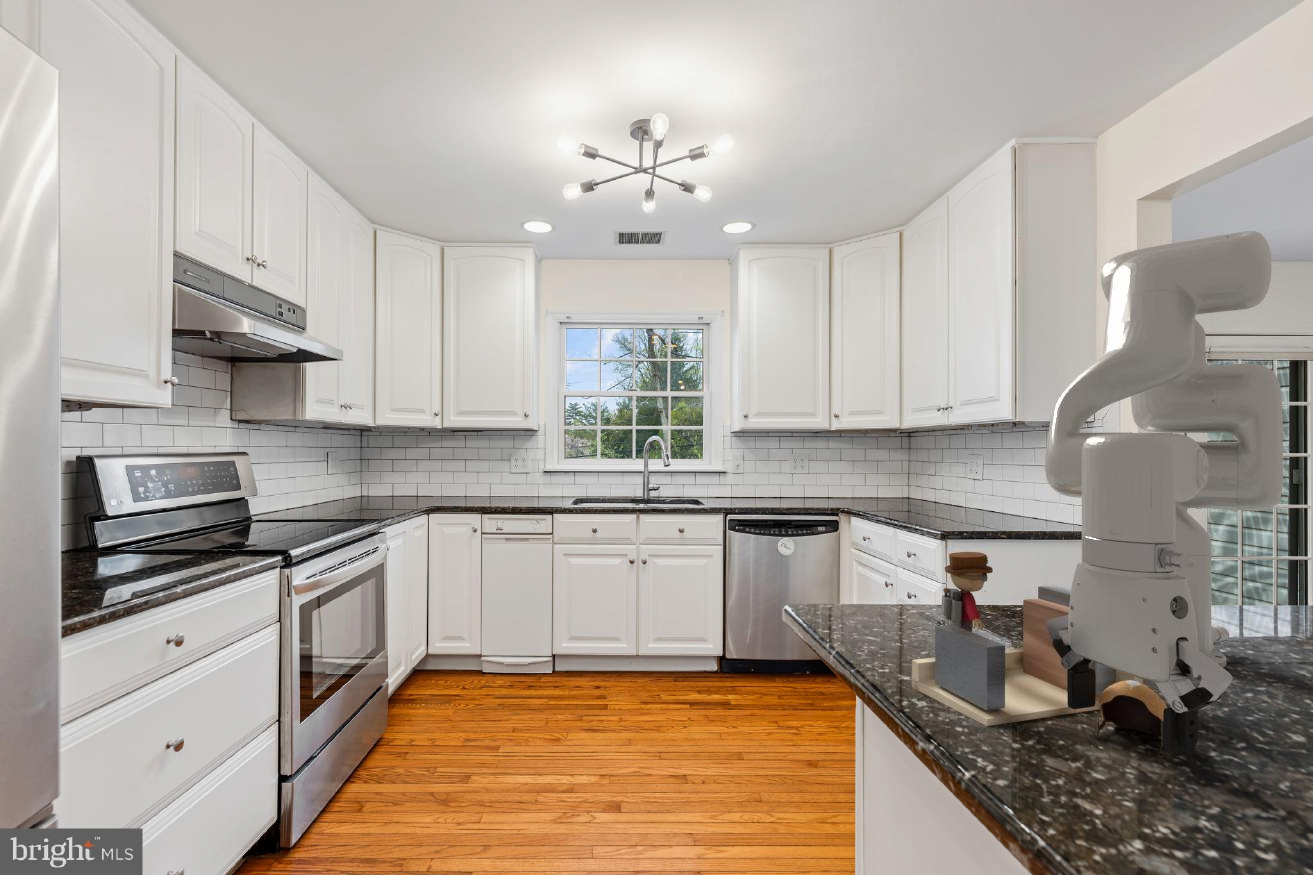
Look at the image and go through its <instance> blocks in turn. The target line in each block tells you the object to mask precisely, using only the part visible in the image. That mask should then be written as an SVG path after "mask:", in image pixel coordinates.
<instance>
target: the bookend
mask: <svg viewBox="0 0 1313 875" xmlns="http://www.w3.org/2000/svg"><path fill="white" fill-rule="evenodd" d="M934 627H935V631H934V632H935V633H934V635H935V636H934V637H935V639H934V640H935V641H934V643H935V644H934V645H935V647H934V648H935V650H934V651H935V652H934V653H935V654H934V657H935V683H936V684H938V685H940V686H942V687H944V688H945V689H947V690H949V691H951V692H953V693H955V694H957V695H959V696H960V697H962V698H964V699H966V700H968V701H970V702H972V703H974V704H975V705H977V706H979V707H981V708H983V709H985V710H987V711H988V710H995V709H1002V708H1005V649H1006V645H1005V644H1003V643H1000V642H998V641H996V640H992V639H990V638H987V637H985V636H982V635H979V634H977V633H975V632H973V631H972V632H970V631H967V630H965V629H962V628H959V627H957V626H954V625H951V624H946V625H936V626H934Z"/></svg>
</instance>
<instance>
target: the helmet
mask: <svg viewBox="0 0 1313 875" xmlns="http://www.w3.org/2000/svg"><path fill="white" fill-rule="evenodd" d="M1099 706H1100V709H1099V713H1098V717H1100V715H1101V717H1102V722H1101V724H1100V719H1098V722H1097V733H1096V740H1098V739H1099V735H1100V734H1099V733H1100V731H1102V729H1103V728H1104V727H1105V725H1106V724H1107V723H1111V724H1112V725H1113V726H1115V727H1117V728H1119V729H1130V730H1134V731H1135V730H1136V731H1138V732H1143V733H1146V734H1149V735H1151V736H1153V737H1155V738H1158V739H1161V742H1160V748H1163V711H1164V709H1165V708H1168V707H1167V704H1166V703H1165V702H1164V700H1163V699H1162V698H1161V697H1160V696H1159V695H1158V694H1157V693H1156V692H1155V691H1154V690H1152V689H1151V688H1150V687H1148V686H1147V685H1145V684H1144V683H1143V684H1141V683H1139V682H1136V681H1132V680H1127V681H1121V682H1117V683H1115V684H1113V685H1111V686H1109V687H1108V688H1107V689H1105V690H1104V692H1103V693H1102V695H1101V698H1100V700H1099ZM1161 750H1162V749H1160V750H1159V754H1158V756H1159V755H1161V752H1162V751H1161Z"/></svg>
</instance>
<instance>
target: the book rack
mask: <svg viewBox="0 0 1313 875" xmlns="http://www.w3.org/2000/svg"><path fill="white" fill-rule="evenodd" d="M1071 589H1072V588H1069V587H1065V586H1060V585H1057V584H1054V585H1041V586H1038V587H1037V596H1038V597H1037V598H1028V599H1027V598H1025V599H1023V600H1022V602H1023V603H1022V605H1023V607H1022V608H1023V610H1022V614H1023V615H1022V616H1023V617H1022V619H1023V620H1022V621H1023V622H1022V623H1023V625H1022V626H1023V627H1022V633H1023V634H1022V635H1023V638H1022V639H1023V640H1022V641H1023V642H1022V643H1023V645H1022V647H1017V648H1016V647H1015V648H1014V647H1013V648H1005V708H1002V709H995V710H988V711H987V710H985V709H983V708H981V707H979V706H977V705H975V704H974V703H972V702H970V701H968V700H966V699H964V698H962V697H960V696H959V695H957V694H955V693H953V692H951V691H949V690H947V689H945V688H944V687H942V686H940V685H938V684H936V683H935V656H934V657H927V658H919V659H917V658H916V659H912V660H911V688H913V689H914V690H916V691H919V692H920V693H922V694H924V695H926V696H927V697H930V698H932V699H934V700H936V701H938V702H940V703H942V704H943V705H945V706H947V707H949V708H952V710H953V709H954V710H955V711H956V712H959V713H961V714H963V715H964V716H966V717H968V718H970V719H972V720H974V721H976V722H978V723H980V724H982V725H984V726H986V727H990V726H995V725H996V726H997V725H1002V724H1003V725H1005V724H1009V723H1018V722H1023V721H1024V722H1025V721H1029V720H1030V721H1031V720H1037V719H1042V718H1050V717H1058V716H1063V715H1070V714H1076V713H1082V712H1089V711H1097V710H1100V706H1099V700H1100V698H1101V695H1102V693H1103V692H1104V690H1105V689H1107V688H1108V687H1109V686H1111V685H1113V684H1115V683H1117V682H1121V681H1127V680H1132V681H1136V682H1139V683H1141V684H1143V685H1144V679H1141V678H1138V677H1135V676H1132V675H1129V674H1127V673H1124V672H1121V671H1118V670H1115V669H1113V668H1110V667H1107V666H1104V665H1102V664H1099V663H1096V662H1093V663H1092V664H1091V665H1090V666H1089V668H1092V669H1095V674H1096V704H1095V706H1094V707H1088V708H1081V709H1072V708H1070V707H1068V704H1067V695H1068V693H1067V669H1065V668H1064V667H1063V666H1062V664H1061V657H1060V656H1059V654H1058V653H1057V651H1056V650H1055V648H1054V647H1053V639H1052V638H1051V636H1050V633H1049V631H1048V629H1047V626H1046V621H1047V620H1050V619H1054V618H1057V617H1061V616H1064V615H1068V614H1069V604H1070V595H1071ZM1067 633H1068V629H1067ZM1068 638H1069V635H1068Z"/></svg>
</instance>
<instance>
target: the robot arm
mask: <svg viewBox="0 0 1313 875" xmlns="http://www.w3.org/2000/svg"><path fill="white" fill-rule="evenodd" d="M1272 268H1273V267H1272V252H1271V248H1270V245H1269V242H1268V240H1267V239H1266V237H1265V236H1264V235H1263V234H1262V233H1260V232H1258V231H1255V230H1246V231H1239V232H1232V233H1227V234H1221V235H1214V236H1209V237H1202V238H1198V239H1192V240H1191V239H1190V240H1187V241H1186V240H1184V241H1178V242H1172V243H1167V244H1161V245H1156V246H1155V245H1154V246H1149V247H1145V248H1139V249H1136V250H1132V251H1127V252H1124V253H1122V254H1118V255H1116V256H1114V257H1112V258H1110V259H1109V260H1108V261H1106V262H1104V265H1103V267H1102V268H1101V272H1100V284H1101V287H1102V288H1101V289H1102V291H1103V295H1104V297H1105V299H1106V301H1107V313H1106V322H1105V331H1104V339H1103V340H1104V341H1103V351H1102V356H1101V357H1100V358H1099V359H1098V360H1097V361H1095V362H1094V363H1092V364H1091V365H1090V366H1088V367H1087V368H1086V369H1084V370H1083V371H1082V372H1081V373H1080V374H1079V375H1078V376H1076V377H1075V379H1073V380H1072V382H1070V384H1069V385H1068V386H1067V387H1066V389H1064V390H1063V392H1062V394H1061V395H1060V396H1059V398H1058V399H1057V400H1056V403H1055V405H1054V407H1053V410H1052V413H1051V416H1050V422H1049V429H1048V434H1047V440H1046V447H1045V456H1044V471H1045V477H1046V480H1047V482H1048V484H1049V486H1050V487H1051V488H1052V489H1053V490H1054V491H1055V492H1056V493H1058V494H1060V495H1062V496H1065V497H1071V498H1080V499H1081V562H1077V563H1076V568H1075V570H1074V574H1073V579H1072V582H1071V588H1070V589H1071V595H1070V604H1069V614H1068V615H1064V616H1061V617H1057V618H1054V619H1050V620H1047V621H1046V626H1047V629H1048V631H1049V633H1050V636H1051V638H1052V639H1053V647H1054V648H1055V650H1056V651H1057V653H1058V654H1059V656H1060V657H1061V664H1062V666H1063V667H1064V668H1065V669H1067V693H1068V695H1067V704H1068V707H1070V708H1072V709H1081V708H1088V707H1094V706H1095V704H1096V674H1095V669H1092V668H1089V666H1090V665H1091V664H1092V663H1093V662H1096V663H1099V664H1102V665H1104V666H1107V667H1110V668H1113V669H1115V670H1118V671H1121V672H1124V673H1127V674H1129V675H1132V676H1135V677H1138V678H1141V679H1143V681H1144V680H1145V681H1147V682H1151V683H1155V684H1156V686H1157V687H1158V689H1159V691H1160V692H1161V694H1162V696H1163V697H1164V698H1165V700H1166V701H1167V703H1168V705H1169V706H1170V707H1167V708H1165V709H1164V711H1163V745H1162V748H1163V749H1164V751H1166V752H1167V753H1169V754H1172V755H1176V754H1180V753H1185V752H1186V753H1187V752H1191V751H1192V752H1193V751H1194V750H1195V748H1196V747H1197V746H1196V745H1197V744H1198V742H1199V740H1198V739H1199V721H1198V720H1199V718H1198V717H1199V710H1205V709H1206V707H1208V706H1209V705H1211V704H1214V703H1215V702H1217V701H1219V700H1220V699H1221V697H1222V696H1221V695H1222V694H1223V693H1224V692H1225V691H1226V690H1227V689H1228V687H1229V686H1230V684H1231V683H1232V682H1233V676H1232V674H1231V672H1229V671H1227V670H1226V669H1225V667H1226V666H1227V657H1226V656H1225V654H1223V653H1222V652H1221V651H1219V650H1217V649H1214V643H1215V642H1218V641H1219V642H1220V641H1225V640H1228V639H1229V638H1230V632H1229V630H1228V629H1226V628H1225V627H1223V626H1215V627H1214V626H1212V554H1213V553H1212V541H1211V538H1210V536H1209V534H1208V532H1207V530H1206V529H1205V528H1204V527H1203V526H1202V525H1201V523H1199V522H1198V521H1197V520H1196V519H1195V518H1193V516H1192V515H1191V514H1189V512H1188V511H1187V510H1188V509H1212V510H1213V509H1214V510H1226V511H1227V510H1230V511H1253V512H1254V511H1255V512H1256V511H1257V512H1258V511H1259V512H1260V511H1265V510H1269V509H1271V508H1274V507H1275V506H1276V505H1277V504H1278V503H1279V501H1280V499H1281V497H1282V494H1283V484H1284V447H1283V446H1284V443H1283V442H1284V440H1283V439H1284V436H1283V435H1284V434H1283V427H1284V426H1283V424H1284V423H1283V398H1282V397H1283V396H1282V389H1281V384H1280V381H1279V379H1278V377H1277V374H1275V371H1273V370H1272V369H1271V368H1269V367H1268V366H1265V365H1262V364H1257V363H1232V364H1231V363H1230V364H1229V363H1227V364H1217V365H1216V364H1215V365H1213V364H1212V365H1210V364H1208V363H1207V360H1206V359H1207V358H1206V340H1207V339H1206V330H1205V329H1204V327H1203V326H1202V325H1201V323H1200V322H1199V321H1198V320H1197V319H1196V315H1203V314H1210V313H1211V314H1213V313H1220V312H1232V311H1241V310H1247V309H1252V308H1255V307H1256V306H1259V305H1260V304H1261V303H1262V301H1264V299H1265V298H1266V296H1267V294H1268V292H1269V289H1270V284H1271V281H1272V280H1271V279H1272ZM1127 398H1130V405H1131V414H1132V419H1133V422H1134V423H1135V425H1136V426H1137V427H1138V428H1140V429H1142V430H1144V431H1147V432H1130V431H1128V432H1125V431H1124V432H1081V430H1082V427H1083V426H1084V425H1085V423H1086V422H1087V421H1088V419H1090V418H1091V417H1092V416H1094V415H1095V414H1096V413H1097V412H1099V411H1101V410H1102V409H1104V408H1106V407H1108V406H1109V405H1112V404H1114V403H1117V402H1120V401H1122V400H1125V399H1127ZM1181 433H1183V434H1181ZM1184 433H1185V434H1195V433H1196V434H1200V433H1203V434H1206V433H1207V434H1208V433H1210V434H1211V433H1213V434H1215V433H1216V434H1229V435H1232V436H1233V437H1234V438H1236V439H1237V441H1231V442H1230V441H1195V440H1194V439H1193V438H1191V437H1190V436H1187V435H1185V434H1184ZM1067 629H1068V633H1067ZM1068 635H1069V638H1068ZM1199 675H1200V677H1201V680H1200V682H1199V685H1198V687H1195V685H1194V684H1193V682H1192V681H1191V680H1194V679H1197V678H1198V676H1199Z"/></svg>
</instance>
